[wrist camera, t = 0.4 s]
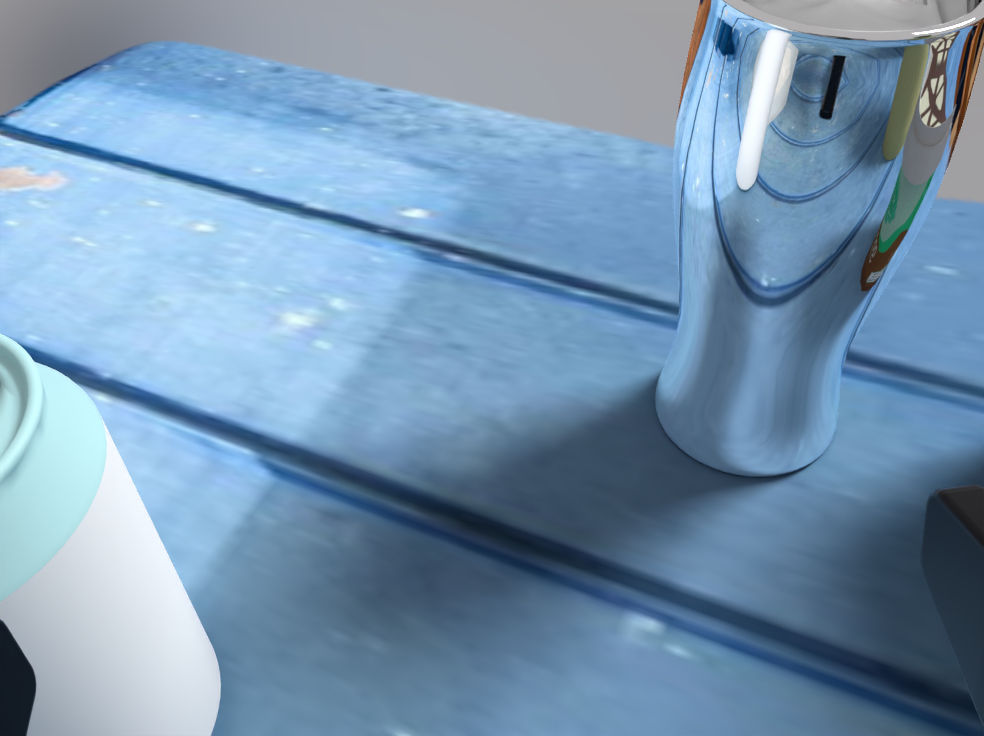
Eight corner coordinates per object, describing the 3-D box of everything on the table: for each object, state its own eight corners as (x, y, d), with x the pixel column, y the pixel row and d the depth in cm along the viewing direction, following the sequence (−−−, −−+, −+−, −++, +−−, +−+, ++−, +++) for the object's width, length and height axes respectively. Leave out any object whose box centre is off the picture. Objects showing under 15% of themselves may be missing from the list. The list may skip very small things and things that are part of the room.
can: (12, 608, 27) (-218, 299, 19) (249, 608, 27) (123, 295, 19) (-98, 868, 22) (-477, 607, 14) (191, 870, 22) (-16, 605, 14)
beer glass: (757, 526, 29) (890, 75, 18) (599, 401, 33) (634, -31, 22) (890, 417, 32) (1071, -25, 21) (732, 314, 36) (818, -104, 25)
